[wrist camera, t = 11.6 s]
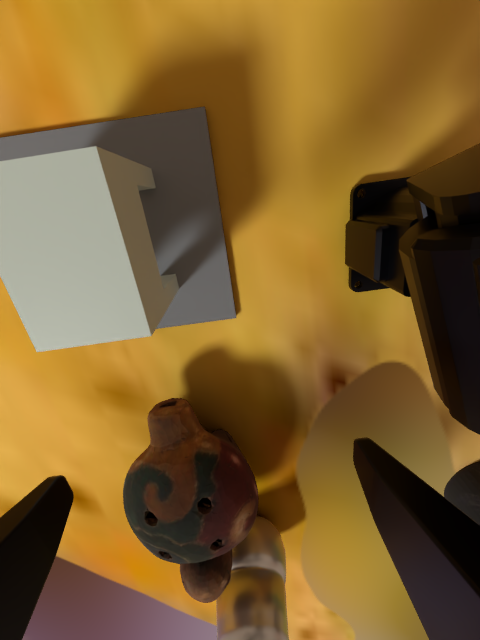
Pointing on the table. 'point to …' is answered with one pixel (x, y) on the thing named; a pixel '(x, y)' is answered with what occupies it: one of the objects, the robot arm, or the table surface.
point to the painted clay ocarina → (191, 498)
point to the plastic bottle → (255, 588)
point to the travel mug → (466, 491)
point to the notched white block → (80, 248)
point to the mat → (163, 200)
